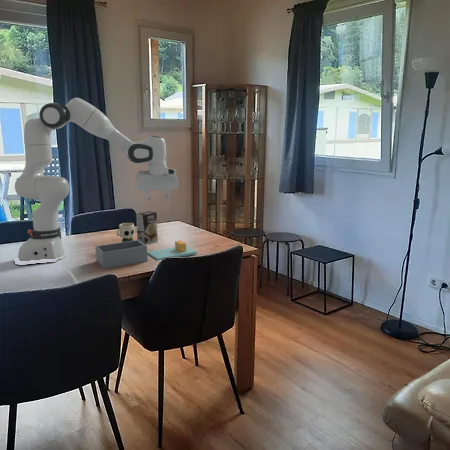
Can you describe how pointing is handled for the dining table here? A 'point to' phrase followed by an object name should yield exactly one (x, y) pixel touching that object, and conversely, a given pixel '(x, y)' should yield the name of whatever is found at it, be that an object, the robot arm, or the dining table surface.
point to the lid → (173, 251)
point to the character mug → (126, 231)
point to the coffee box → (147, 227)
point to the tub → (121, 254)
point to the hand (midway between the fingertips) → (157, 199)
